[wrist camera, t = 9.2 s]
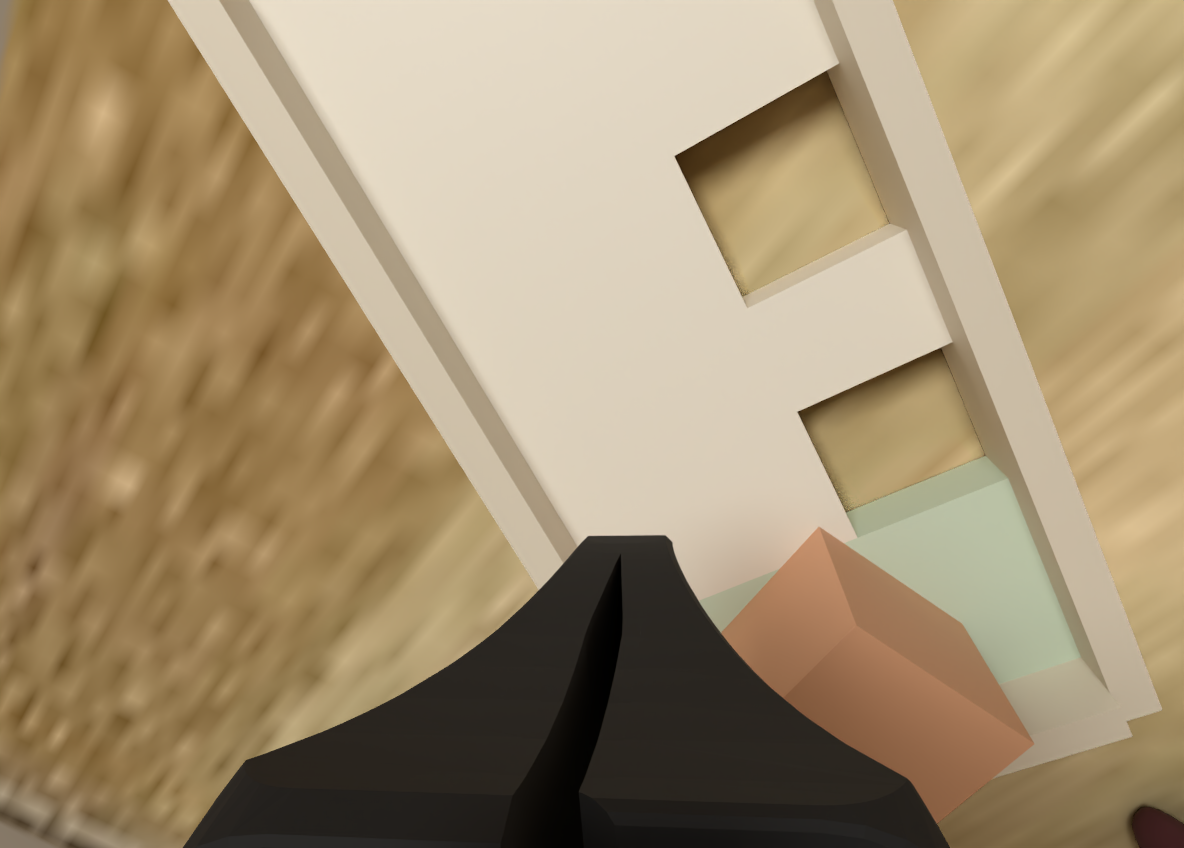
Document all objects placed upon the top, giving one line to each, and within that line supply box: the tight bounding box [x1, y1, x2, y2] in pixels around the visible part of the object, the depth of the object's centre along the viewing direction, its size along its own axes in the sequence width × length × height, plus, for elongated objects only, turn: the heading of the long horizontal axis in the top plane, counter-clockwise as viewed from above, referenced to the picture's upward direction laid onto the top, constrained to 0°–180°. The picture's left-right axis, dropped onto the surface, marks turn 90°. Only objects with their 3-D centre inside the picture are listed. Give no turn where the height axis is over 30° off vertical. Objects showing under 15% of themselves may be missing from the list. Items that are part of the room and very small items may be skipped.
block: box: [721, 527, 1034, 823], centre depth 19 cm, size 5×5×4 cm
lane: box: [168, 0, 1162, 779], centre depth 19 cm, size 26×13×4 cm, turn 28°
